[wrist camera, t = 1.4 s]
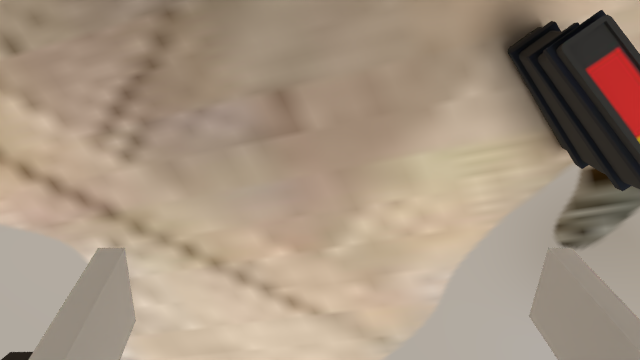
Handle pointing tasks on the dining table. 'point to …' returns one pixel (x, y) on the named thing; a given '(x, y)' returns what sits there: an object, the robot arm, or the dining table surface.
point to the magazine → (587, 92)
